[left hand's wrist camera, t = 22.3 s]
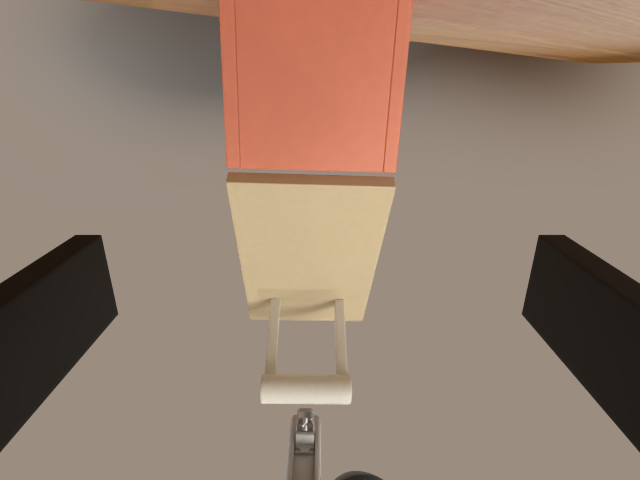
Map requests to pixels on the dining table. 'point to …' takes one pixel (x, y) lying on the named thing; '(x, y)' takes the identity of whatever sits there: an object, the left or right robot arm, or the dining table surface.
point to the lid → (308, 263)
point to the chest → (314, 83)
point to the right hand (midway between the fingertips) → (303, 449)
